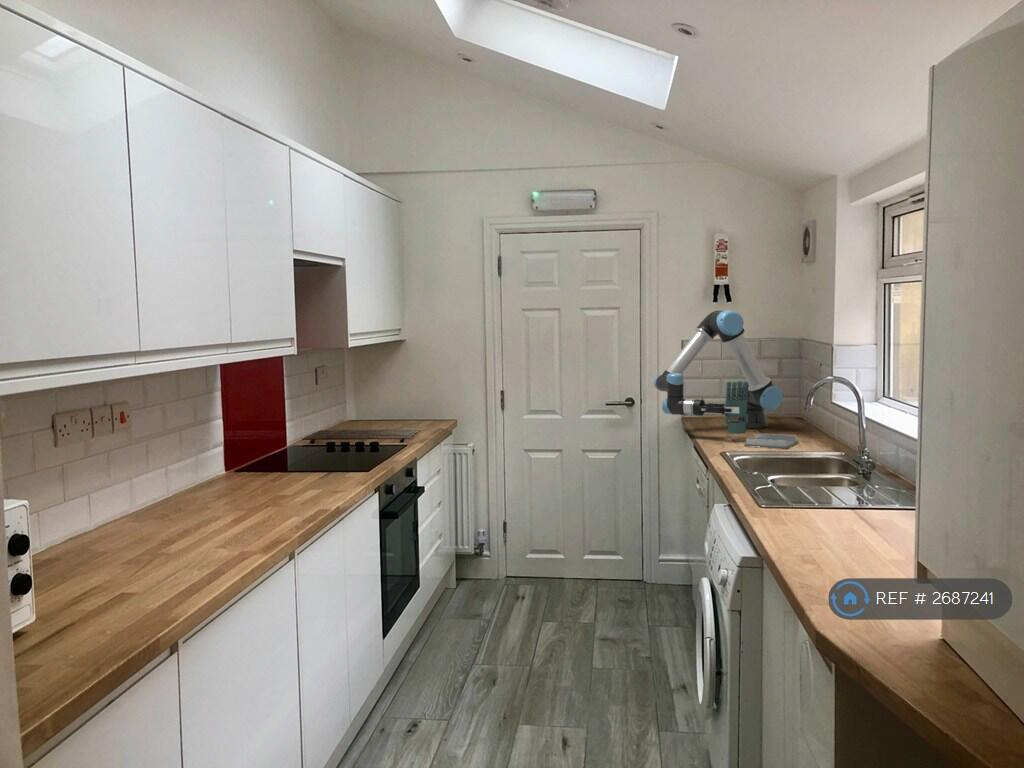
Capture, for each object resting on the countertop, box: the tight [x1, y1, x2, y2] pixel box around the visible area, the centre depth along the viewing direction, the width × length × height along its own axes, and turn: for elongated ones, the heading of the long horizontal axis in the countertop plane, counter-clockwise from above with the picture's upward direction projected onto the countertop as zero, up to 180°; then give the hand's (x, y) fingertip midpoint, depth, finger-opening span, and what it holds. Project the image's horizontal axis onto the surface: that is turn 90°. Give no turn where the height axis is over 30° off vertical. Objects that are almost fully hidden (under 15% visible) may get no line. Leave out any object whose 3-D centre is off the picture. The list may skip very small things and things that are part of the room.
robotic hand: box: [718, 380, 748, 435], centre depth 366 cm, size 14×10×25 cm
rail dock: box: [743, 432, 799, 450], centre depth 355 cm, size 18×18×4 cm
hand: (742, 409), depth 365 cm, fingers closed on robotic hand, 8 cm apart
